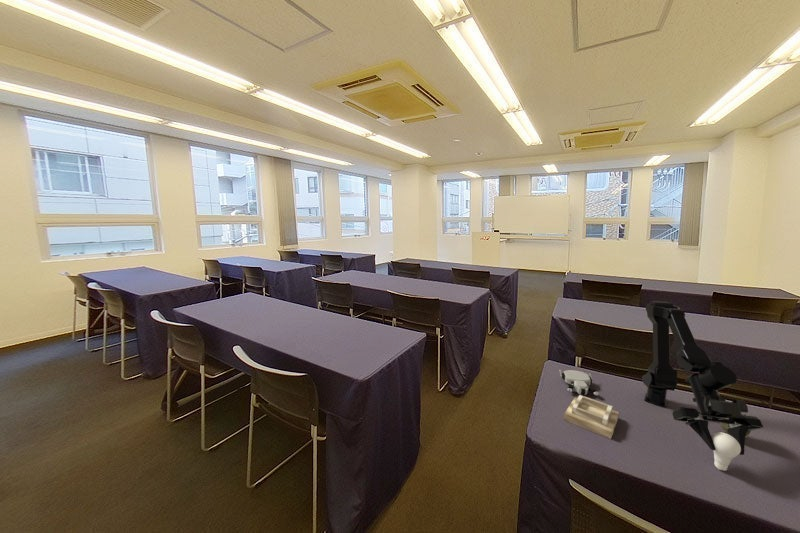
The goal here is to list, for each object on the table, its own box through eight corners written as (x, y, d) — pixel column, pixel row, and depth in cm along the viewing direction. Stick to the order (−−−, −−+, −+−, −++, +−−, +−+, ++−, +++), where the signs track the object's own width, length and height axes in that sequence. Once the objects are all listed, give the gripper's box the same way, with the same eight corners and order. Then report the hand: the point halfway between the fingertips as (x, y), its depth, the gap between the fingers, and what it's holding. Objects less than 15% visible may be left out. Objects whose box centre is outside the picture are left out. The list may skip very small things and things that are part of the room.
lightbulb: (699, 461, 89) (704, 428, 88) (717, 460, 90) (723, 426, 88) (722, 479, 83) (729, 443, 82) (742, 477, 84) (749, 441, 82)
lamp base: (574, 402, 118) (575, 390, 117) (618, 418, 109) (619, 405, 108) (563, 420, 108) (565, 407, 107) (610, 439, 98) (612, 425, 98)
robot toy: (600, 401, 120) (588, 380, 134) (601, 391, 119) (590, 371, 133) (565, 396, 124) (558, 376, 138) (567, 387, 123) (559, 367, 137)
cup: (739, 432, 101) (743, 411, 100) (756, 448, 94) (761, 425, 93) (711, 427, 104) (714, 406, 102) (725, 442, 97) (729, 420, 95)
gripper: (683, 382, 89) (704, 442, 80) (764, 391, 84) (795, 456, 75) (664, 392, 98) (681, 447, 89) (737, 401, 93) (762, 460, 84)
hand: (727, 452), depth 84 cm, fingers closed on lightbulb, 6 cm apart
